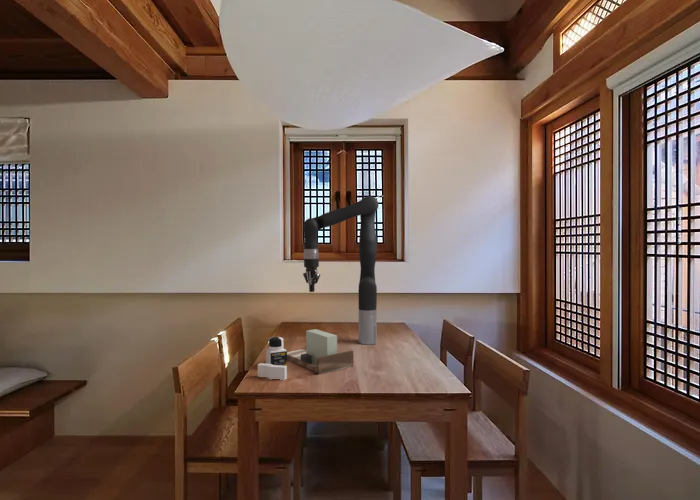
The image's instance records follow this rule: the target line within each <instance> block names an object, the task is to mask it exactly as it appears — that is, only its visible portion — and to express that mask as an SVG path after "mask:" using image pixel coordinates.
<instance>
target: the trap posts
mask: <svg viewBox="0 0 700 500" xmlns="http://www.w3.org/2000/svg"><path fill="white" fill-rule="evenodd" d="M301 360H302V361H305V362H307V363H309V364H312V355H310V354H307V353H306V354H301Z"/></svg>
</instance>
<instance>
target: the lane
mask: <svg viewBox="0 0 700 500" xmlns="http://www.w3.org/2000/svg"><path fill="white" fill-rule="evenodd" d="M301 354H306V348H302V349H296V350H292V351H287V361H290V362H292V363H294V364H296V365H298V366H301V367H303V368H305V369H308V370H310V371H312V372H314V373H315V374H317V375H318V374H320V375H323V374H328V373H331V372H336V370H337V371H340V370H344V369H345V370H346V369H348V368H349V369H350V368H352V367H353V368H354V350H348V351H344V352H337V354H332V355H328V356H323V357H318V358H317V364H314V363H312V364H309V363H307V362H305V361H302V360H301Z"/></svg>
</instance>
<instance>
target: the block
mask: <svg viewBox="0 0 700 500" xmlns="http://www.w3.org/2000/svg"><path fill="white" fill-rule="evenodd" d="M305 332H306V333H305V338H306V339H305V341H306V343H305V349H306V353H307V354H310V355H312V363H314V364H317V358H318V357H323V356H328V355H332V354H337V353H338V335H337V334H334V333H330V332H326V331H323V330H320V329H317V328H316V329H315V328H314V329H309V330H306V331H305Z"/></svg>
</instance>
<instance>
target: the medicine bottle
mask: <svg viewBox="0 0 700 500" xmlns="http://www.w3.org/2000/svg"><path fill="white" fill-rule="evenodd" d="M284 346H285V345H284V338H283V337H280V336H273V337H270V338H269V339H268V347H267V348H265V364H272V365H281V366H287V367H288V360H287V352H288V350H287V349H286V348H284Z"/></svg>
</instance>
